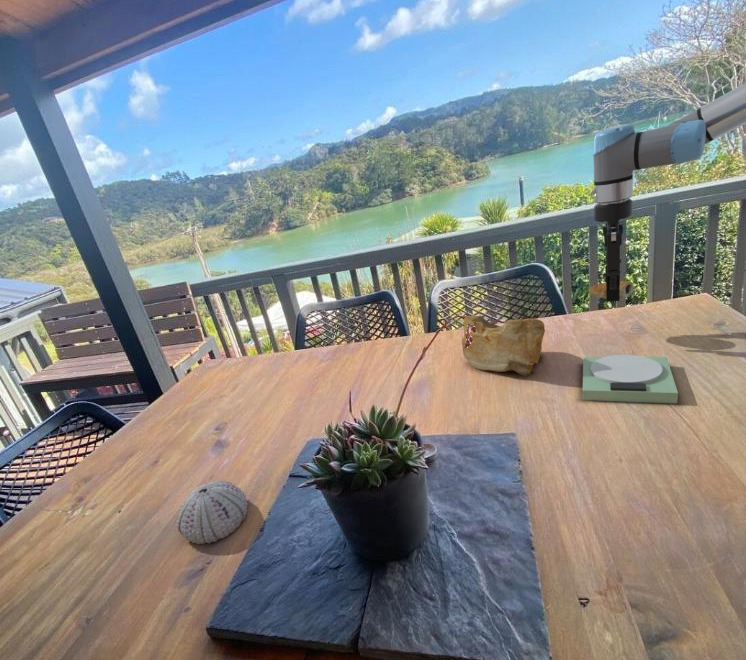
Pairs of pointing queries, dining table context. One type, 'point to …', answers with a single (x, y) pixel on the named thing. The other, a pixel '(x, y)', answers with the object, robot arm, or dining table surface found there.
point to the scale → (628, 379)
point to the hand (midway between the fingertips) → (612, 295)
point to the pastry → (600, 290)
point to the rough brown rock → (504, 344)
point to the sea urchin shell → (212, 512)
